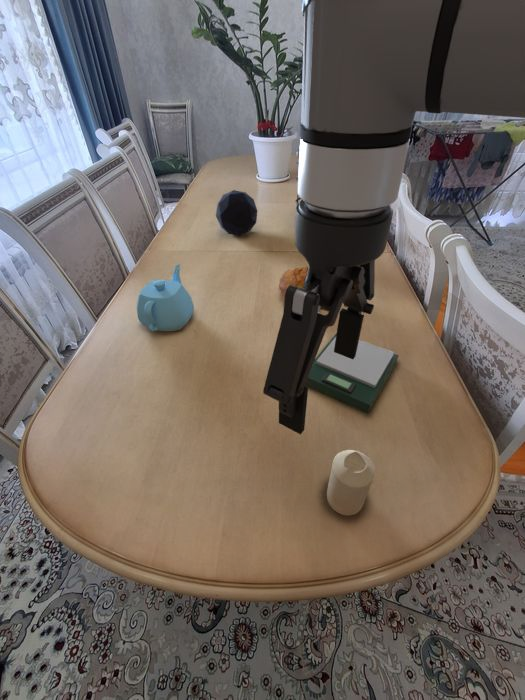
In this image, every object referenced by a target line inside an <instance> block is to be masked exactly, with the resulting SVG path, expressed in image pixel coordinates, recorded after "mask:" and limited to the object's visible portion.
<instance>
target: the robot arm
mask: <svg viewBox="0 0 525 700" xmlns="http://www.w3.org/2000/svg"><path fill="white" fill-rule="evenodd" d="M301 13H302V17H303V40H302V41H303V42H302V45H303V47H302V78H301V79H302V81H301V111H300V112H301V113H300V125H299V137H300V138H299V147H298V149H297V150H296V159H297V160H298V161H299V168H298V172H297V173H298V174H297V177H298V182H297V188H298V195H299V198H301V199H300V200H299V201H298V205H296V208H295V225H294V227H295V229H294V232H295V233H294V245H295V248H296V249H297V251H298V252H299V253H300V254H301V255H302V256H303V258H304V259H305V260H306V262H307V263H308V267H309V268H308V272H307V275H306V278H305V280H304V286H303V287H301V288H298V287H295V286H292V285H290V286H289V287H288V288H287V290H286V292H285V300H283V301H284V302H283V311H282V316H281V321H280V325H279V329H278V332H277V337H276V340H275V343H274V348H273V352H272V355H271V360H270V363H269V367H268V370H267V374H266V378H265V382H264V386H263V391H262V393H263V394H264V395H265V396H267V397H269V398H271V399H273V400H275V401H277V402H278V424H280V425H281V426H284V428H287V429H289V430H291V431H292V432H295V433H296V434H298V435H302V433H304V431H305V426H306V415H307V407H308V406H307V405H308V395H309V386H307V385H305V383H306V381H307V378H308V376H309V373H310V370H311V368H312V365H313V363H314V360H315V359H316V357H317V356H318V352H319V350H320V347H321V344H322V343H323V339H324V338H325V335H326V331H327V329H328V328H329V327H333V326H334V325H335V323H336V322H338V323H337V328H336V329H337V330H336V333H337V334H336V333H335V334H336V341H335V347H334V352H335V353H338V354H340V355H343V356H345V357H348V358H350V359H354V358H355V356H356V351H357V347H358V342H359V340H360V336H361V332H362V327H363V322H364V318H365V315H364V314H367V315H371V314H372V313H373V311H374V308H375V305H374V304H372V303H368V301H372V299H374V297H375V274H376V273H375V271H376V270H375V269H376V268H375V267H376V264H375V263H376V260H377V259H379V258H381V256H382V255H383V254H384V252H385V251H386V247H387V243H388V238H389V234H390V230H391V225H392V221H393V217H394V209H393V208H392V206H391V205H392V204H394V203H395V202H396V201H397V200H398V198H399V192H400V187H401V183H402V179H403V174H404V169H405V164H406V160H407V155H408V150H409V145H410V142H411V135H412V132H413V131H412V130H413V125H414V121H415V118H416V115H417V112H422V113H428V114H442V113H448V114H449V113H450V114H451V113H452V114H465V115H477V116H478V115H479V116H492V117H506V118H520V119H525V0H302V2H301ZM342 305H343V306H344V307H346V308H344V307H342ZM320 310H321V311H324V312H328V313H327V314H322V313H319V312H320ZM362 313H364V314H362ZM337 318H338V321H337Z"/></svg>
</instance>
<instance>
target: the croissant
mask: <svg viewBox="0 0 525 700" xmlns="http://www.w3.org/2000/svg"><path fill="white" fill-rule="evenodd" d="M308 268H309V266H301V267H293V268H291V269H288V270H286V271H284V272H283V274H282V275H281V276H280V277H279V283H278V289H279V291H280V294H281V296H282V298H283V299H284V300H285V292H286V290H287V288H288V287H289V286H290V285H292V286H295V287H298V288H301V287H303V286H304V280H305V278H306V275H307V272H308ZM284 300H283V301H284Z"/></svg>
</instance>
